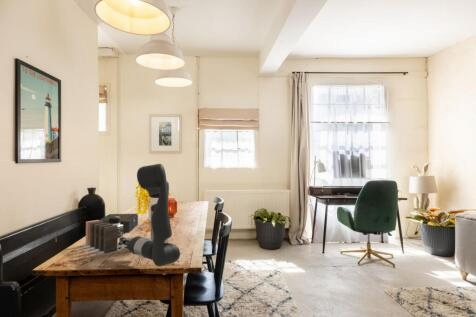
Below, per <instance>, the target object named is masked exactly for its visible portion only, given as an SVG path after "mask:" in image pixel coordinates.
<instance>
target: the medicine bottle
mask: <svg viewBox="0 0 476 317" xmlns="http://www.w3.org/2000/svg"><path fill="white" fill-rule="evenodd" d="M109 224H113V226H114V225H117V226H118V239H120V238H121V237H124V233H123V225H120V217H110V218H109Z"/></svg>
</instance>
